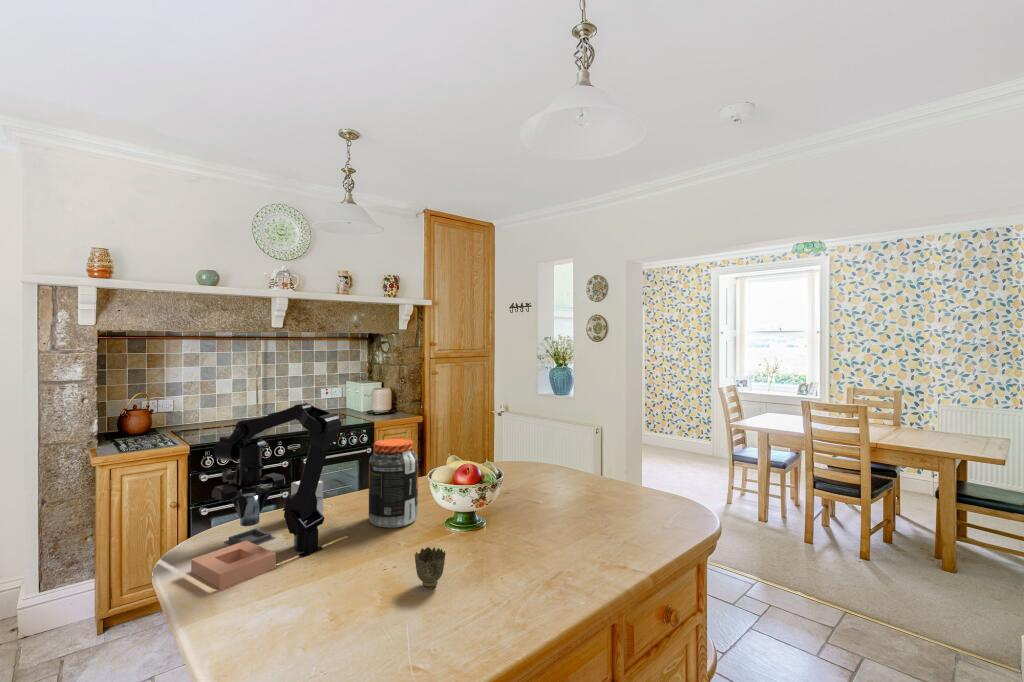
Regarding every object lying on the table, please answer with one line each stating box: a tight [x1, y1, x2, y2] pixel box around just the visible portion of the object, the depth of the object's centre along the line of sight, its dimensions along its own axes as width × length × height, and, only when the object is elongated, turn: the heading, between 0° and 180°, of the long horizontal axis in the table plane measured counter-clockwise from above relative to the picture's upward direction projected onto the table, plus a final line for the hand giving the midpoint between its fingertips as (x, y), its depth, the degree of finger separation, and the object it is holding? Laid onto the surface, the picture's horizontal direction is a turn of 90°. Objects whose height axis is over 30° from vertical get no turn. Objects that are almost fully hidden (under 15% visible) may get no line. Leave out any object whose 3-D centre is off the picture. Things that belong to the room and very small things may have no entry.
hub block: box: [190, 540, 277, 592], centre depth 128 cm, size 14×14×4 cm
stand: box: [223, 527, 277, 546], centre depth 146 cm, size 10×10×2 cm
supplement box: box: [290, 480, 324, 523], centre depth 164 cm, size 7×7×13 cm
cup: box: [414, 546, 447, 589], centre depth 122 cm, size 8×7×8 cm
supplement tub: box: [368, 437, 419, 528], centre depth 164 cm, size 16×16×26 cm
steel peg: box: [239, 492, 261, 527], centre depth 146 cm, size 5×5×8 cm
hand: (249, 515), depth 146 cm, fingers closed on steel peg, 5 cm apart
